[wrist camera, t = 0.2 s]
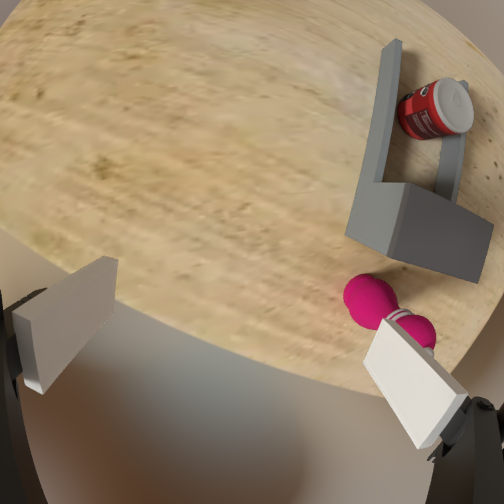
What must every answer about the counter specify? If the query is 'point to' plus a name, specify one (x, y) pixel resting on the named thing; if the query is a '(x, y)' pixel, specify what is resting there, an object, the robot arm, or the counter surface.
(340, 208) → the counter surface
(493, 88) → the counter surface
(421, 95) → the canned food
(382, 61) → the trap channel
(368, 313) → the pepper mill
